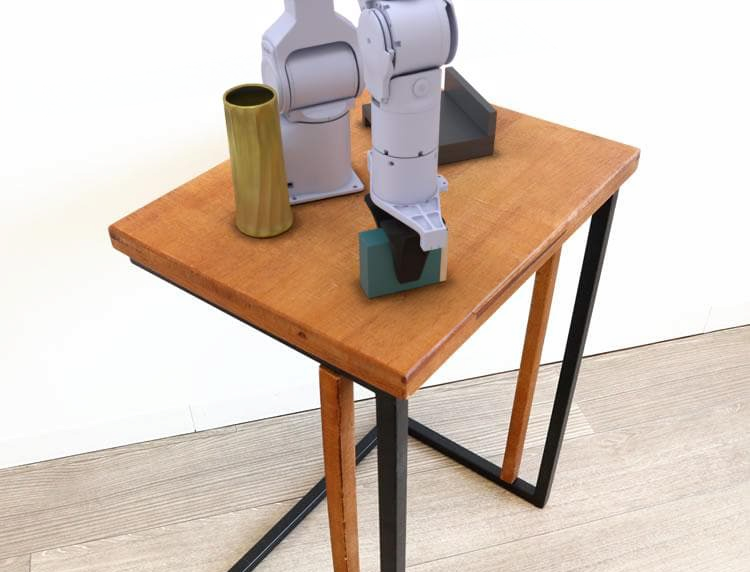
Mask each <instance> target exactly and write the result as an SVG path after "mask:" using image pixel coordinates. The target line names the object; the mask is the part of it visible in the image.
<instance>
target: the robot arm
mask: <svg viewBox="0 0 750 572" xmlns="http://www.w3.org/2000/svg"><path fill="white" fill-rule="evenodd" d="M334 2H335V1H334V0H283V4H284V11H283V13H282V14H281V15H280V16H279V17H278V18H277V19H276V20H275V21H274V22H273V23H272V24H270V26H269V27H268V28H267V29H266V30H265V31H264V32H263V34H262V35H261V42H260V45H261V63H260V73H261V81H262V84H264V85H268V86H270V87H272V88H273V89H274V90H275V91H276V92H277V98H278V109H279V116H280V126H281V135H282V145H283V154H284V162H285V171H286V178H287V185H288V193H289V200H290V206H292V205H293V206H294V205H298V204H303V203H307V202H313V201H317V200H323V199H327V198H332V197H338V196H342V195H347V194H353V193H358V192H362V191H364V190H365V185H364V183H363V182H362V181H361V179H360V178H359V176H358V175H357V173H356V172H355V170H354V168H353V167H352V142H351V112H350V111H351V110H353V109H355V108H356V99H358V98H360V97H361V96H362V95H363V93H364V90H365V89H366V91H367V92H368V93H369V94H370V103H371V128H370V129H371V150H368V151H366V159H367V161H366V163H367V168H366V169H367V172H369V175H370V176H369V192H368V193H366V194H365V195H364V196H363V201H364V203H365V204H366V206H367V208H368V210H369V211H370V213H371V215H372V218H373V220H374V223H375V226H376V229H377V228H382V229H383V230H384V232H385V234H386V236H387V238H388V240H389V243H390V246H391V250H392V254H393V261H394V268H395V273H396V277H397V279H398V281H399V283H400V284H404V283H409V282H413V281H417V280H419V279H420V277H421V274H422V272H423V269H424V266H425V263H426V260H427V257H428V255H429V252H430V250H434V249H438V248H442V247H445V246H446V230H447V228H448V227H447V225H446V220H445V219H444V218H443V216H442V209H441V208H442V207H441V196H440V194H441V193H446V192H448V190H449V187H450V186H449V185H450V184H449V181H448V180H447V179H446V178H445V176H444V175H442V174H438V166H439V165H438V145H439V122H440V99H441V91H442V77H443V69H442V68H441V67H443V66H447V65H450V64H451V63H452V62H453V61H454V59H455V57H456V55H457V51H458V46H459V26H458V25H459V24H458V19H457V15H456V11H455V6H454V3H453V0H357V3H358V6H359V9H360V14H359V17H358V22H357V26H355V24H354V23H353V22H352V21H351V20H350V19H348V18H347V17H346V16H343V15H342V14H341V13H339V12H338V11H336V10H335V4H334ZM446 227H447V228H446Z"/></svg>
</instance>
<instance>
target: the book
mask: <svg viewBox="0 0 750 572" xmlns="http://www.w3.org/2000/svg"><path fill="white" fill-rule="evenodd" d="M446 228H447V230H446V246H445V247H442V248H438V249H434V250H430V252H429V255H428V257H427V260H426V263H425V266H424V269H423V272H422V274H421V277H420V279H419V280H417V281H413V282H409V283H404V284H400V283H399V281H398V279H397V277H396V273H395V268H394V261H393V254H392V250H391V246H390V243H389V240H388V238H387V236H386V234H385V232H384V230H383V229H382V228H377V227H376V228H372V229H369V230H368V229H367V230H363V231H359V232H358V252H359V253H358V259H359V262H358V263H359V284H360V286H361V288H362V290H363V292H364V294H365V295H366V297H367V298H368V299H374V298H377V297H382V296H385V295H390V294H395V293H399V292H403V291H408V290H412V289H416V288H421V287H424V286H429V285H434V284H438V283H439V284H440V283H443V282H445V281H447V273H448V272H447V271H448V257H449V256H448V255H449V239H450V238H449V237H450V230H449V228H448V227H447V226H446Z"/></svg>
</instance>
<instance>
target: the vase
mask: <svg viewBox="0 0 750 572" xmlns="http://www.w3.org/2000/svg"><path fill="white" fill-rule="evenodd" d="M222 103H223V111H224V121H225V128H226V135H227V142H228V151H229V159H230V165H231V166H230V168H231V177H232V184H233V192H234V201H235V208H236V219H235V224H236V227H237V229H238V230H239V231H240V232H241V233H243V234H244V235H247V236H248V237H253V238H271V237H275V236H279V235H280V234H282V233H284V232H287V231H288V230H289V229H290V228H291V227H292V226H293V223H294V219H295V217H294V214H293V211H292V207H291V205H290V200H289V193H288V185H287V178H286V171H285V162H284V154H283V145H282V135H281V126H280V116H279V109H278V98H277V92H276V91H275V90H274V89H273V88H272V87H270V86H268V85H264V84H263V83H253V82H252V83H243V84H239V85H235V86H233V87H230V88H229V89H227V90H225V92H224V93H223V94H222Z"/></svg>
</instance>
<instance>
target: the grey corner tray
mask: <svg viewBox="0 0 750 572" xmlns="http://www.w3.org/2000/svg"><path fill="white" fill-rule="evenodd" d="M361 116H362V117H361V118H362V119H361V120H362V122H361V123H362V124H363V126H364V127H370V126H371V102H369V103H364V104H363V103H362V104H361ZM497 119H498V110H497V109H496V108H495V107H494V106H493V105H492V104H491V103H489V101H488V100H487V99H486V98H485V97H484V96H483V95H481V93H480V92H479V91H478V90H477V89H476V88H475V87H474V86H473V85H471V83H470V82H469V81H468V80H467V79H466V78H464V77H463V76H462V74H461V73H460V72H459V71H457V69H456V68H454V66H446V67H445V68H444V82H443V90H441V99H440V122H439V145H438V166H442V165H446V164H451V163H456V162H461V161H468V160H471V159H477V158H482V157H487V156H492V155H494V151H495V141H496V129H497Z"/></svg>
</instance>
